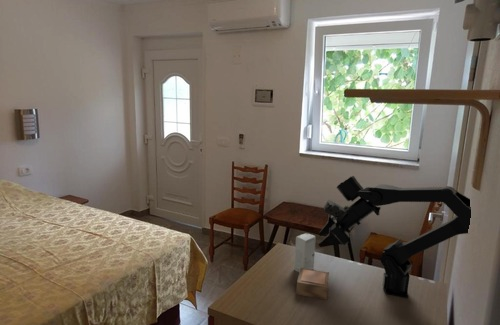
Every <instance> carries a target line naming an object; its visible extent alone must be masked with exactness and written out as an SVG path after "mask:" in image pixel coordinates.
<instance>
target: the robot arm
mask: <svg viewBox="0 0 500 325" xmlns="http://www.w3.org/2000/svg"><path fill="white" fill-rule="evenodd" d="M336 189H337V190H338V192H339V193H340V194H341V195H342V196H343V198H344V199H345V200H346V201H347V202H350V201H351V202H354V203H352V204H351V205H345V206H344V207H343V206H342V205H340V204H338V203H336V202H334V201H333V200H331V199H328V200H327V202H326V203H325V205H324V207H323V211H324V212H325V213H326V214H328V216H327V217H328V218H327V222H326V223H325V225H324V226H323V227H322V229H321V230H320V231H319V232H318V235H319V237H323V236H325V235H326V236H325V237H323V239H322V240H321V241H320V242H319V243H318V246H319V247H320V248H324V247H331V246H337V245H341V246H343V245H344V246H346V245H347V244H349V243H350V241H351V240H350V238H351V237H350V234H349V233H350V232H351V229H352V228H353V227H354V226H356V225H357V226H359V225H361V222H362V220H364V219H366V218H367V217H368V216H369V215H370V216H371V214H372V213H374V214H375V215H376V216H380V215H381V212H380V211H381V209H382V206H385V205H386V206H387V205H391V204H396V203H443V204H444V205H446V206H447V207H448V209H449V210H450V211H451V212H452V213H453V214H454V215H455V216H454V217H452V218H451V219H450V220H449V221H446V222H445V223H442V224H440V225H439V226H436V227H435V228H432V229H431V230H428V231H427V232H425V233H422V234H420V235H419V236H417V237H414V238H412V239H411V240H408V241H405V242H402V239H401V238H398V239H397V240H396V241H395V242H391V243H388V245H387V246H385V247H384V248H383V249H382V250H383V252H382V253H381V254H380V258H379V259H380V263H381V265H382V266H383V268H384V273H383V278H382V288H383V289H384V292H385V294H387V295H391V296H398V297H404V298H409V284H410V273H409V271H410V270H411V269H412V267H413V264H412V262H411V261H410V258H411V257H413V256H415V255H418V254H420V253H422V252H424V251H426V250H428V249H430V248H432V247H434V246H437V245H438V244H440V243H443V242H444V241H447V240H449V239H451V238H453V237H455V236H458V235H466V234H469V233H468V229H469V225H470V218H471V207H470V199H471V198H469V197H467V196H466V195H464V194H463V193H461V192H459V191H457V189H456V188H454V187H452V186H448V185H447V186H443V187H441V186H439V187H438V186H437V187H430V186H429V187H398V186H394V185H389V184H378V185H375V186H374V187H371V186H369V187H367V186H366V187H363V186H362V185H361V184H360V182H359V181H358V180H357V178H356V177H355V176H354V175H352V176H349V177H348V179H347V178H346V179H345V180H343V181H342V182H340V183H339V184H338V185H337V186H336ZM356 200H357V201H356Z"/></svg>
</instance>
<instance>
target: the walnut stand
mask: <svg viewBox="0 0 500 325" xmlns="http://www.w3.org/2000/svg"><path fill="white" fill-rule="evenodd" d="M329 280H330V272H329V271H323V270H316V269H313V270H311V269H305V268H300V273H299V272H298V277H297V281H296V290H295V291H296V295H299V296H304V297H309V298H315V299H322V300H326V301H327V300H328V289H329Z"/></svg>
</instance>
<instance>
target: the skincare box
mask: <svg viewBox="0 0 500 325" xmlns="http://www.w3.org/2000/svg"><path fill="white" fill-rule="evenodd" d="M316 239H317V238H316V235H313V234H312V233H311V234H310V233H308V232H305V233H303V234H300V235H297V236H296V237H295V246H294V247H295V248H294V262H293V265H294V266H293V270H294V271H295V272H298V274H299V273H300V268H305V269H311V270H315V266H314V265H315V256H316V255H315V254H316V253H315V251H316V241H317V240H316Z"/></svg>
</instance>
